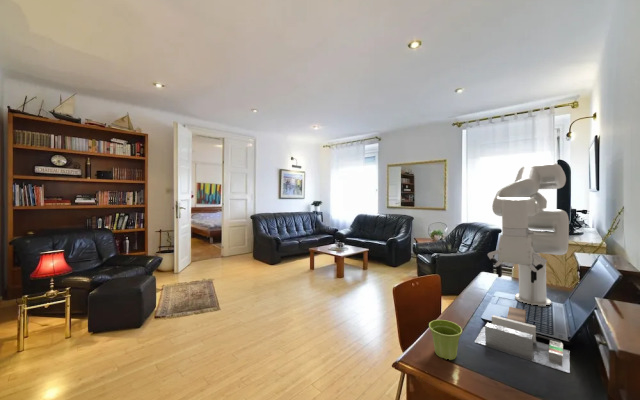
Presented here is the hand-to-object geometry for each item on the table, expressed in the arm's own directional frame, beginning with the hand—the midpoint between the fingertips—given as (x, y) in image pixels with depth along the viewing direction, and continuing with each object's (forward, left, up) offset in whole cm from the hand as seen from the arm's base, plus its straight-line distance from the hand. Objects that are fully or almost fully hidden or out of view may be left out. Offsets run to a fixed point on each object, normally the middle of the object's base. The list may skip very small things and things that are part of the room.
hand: (515, 279), depth 95 cm
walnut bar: (0, 0, -18) cm, 18 cm away
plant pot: (+33, -14, -18) cm, 40 cm away
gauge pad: (+9, +3, -17) cm, 20 cm away
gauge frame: (+14, +2, -18) cm, 23 cm away
